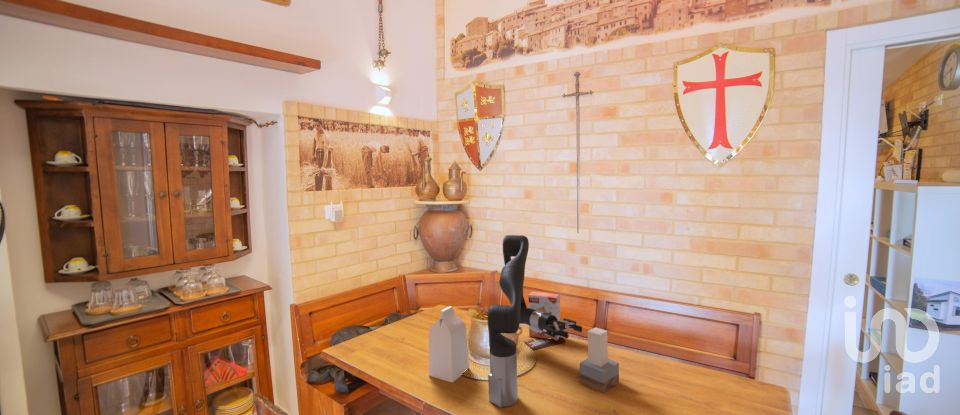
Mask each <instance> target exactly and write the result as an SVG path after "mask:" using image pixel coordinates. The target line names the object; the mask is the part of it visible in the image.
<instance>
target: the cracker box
mask: <svg viewBox="0 0 960 415" xmlns="http://www.w3.org/2000/svg"><path fill="white" fill-rule="evenodd" d="M528 308H531V309H534V310H537V311H542V312H545V313H548V314H552V315H554V316H555V317H556V318H557V320H561V294H556V293H550V292H541V291H531V292H530V293H528ZM528 333H529V334H528V336H529V337H534V338H539V339H543V338H551V339H554V340H555V342H557V341H559V339H560V338H559V337H561V336H557V335H556V336H555V337H552V336H550V335H547V334H545V333H543V331H541V330H539V329H536V328H534V327H533V326H530V325H528ZM554 340H553V341H554Z"/></svg>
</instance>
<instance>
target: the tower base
mask: <svg viewBox="0 0 960 415" xmlns="http://www.w3.org/2000/svg"><path fill="white" fill-rule="evenodd" d="M579 383H581V384H584V385H586V386H588V387H590V388H593V389H594V390H597V391H598V392H601V393H606V392H608V391H609V390H610V389H611V388H613V387H614V386H616V385H617V384H619V383H620V373H618V374H617V375H616V376H614V377H613V378H611V379H610V380H608V381H607V382H606V383H602V382H599V381H597V380H595V379H592V378H590V377H587V376H585V375H583V374H580V373H579Z"/></svg>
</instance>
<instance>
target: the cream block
mask: <svg viewBox="0 0 960 415" xmlns="http://www.w3.org/2000/svg"><path fill="white" fill-rule="evenodd" d="M608 342H609V341H608V330H606V329H603V328H599V327H596V326H595V327H593V328H591V329H589V330H587V358H588V363H591V364H593V365H596V366H598V367H601V366H603V365H605V364H606V363H608V359H609V354H608V353H609V352H608V350H609V349H608V347H609V344H608Z"/></svg>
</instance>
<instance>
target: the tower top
mask: <svg viewBox="0 0 960 415" xmlns="http://www.w3.org/2000/svg"><path fill="white" fill-rule="evenodd" d="M619 371H620V363H619V362H617V361H615V360H612V359H609V358H608V363H606V364H605V365H603V366H601V367H598V366H596V365H593V364H591V363H588V357H587V358H585V359H584V360H582V361H580V362H579V375H580V374H583V375H585V376H587V377H590V378H592V379H595V380H597V381H599V382H602V383H606V382H607V381H608V380H610V379H611V378H613V377H614V376H616V375H617V374H618V373H619ZM619 374H620V373H619Z"/></svg>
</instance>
